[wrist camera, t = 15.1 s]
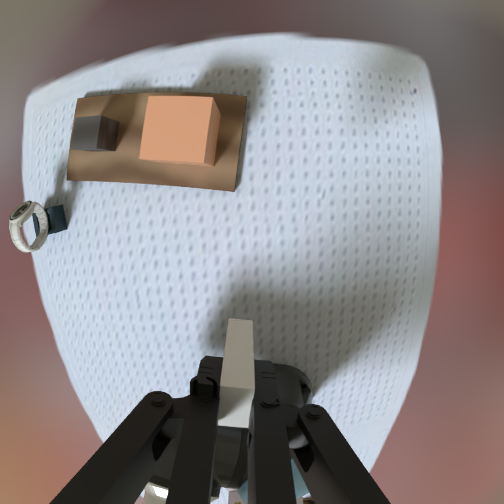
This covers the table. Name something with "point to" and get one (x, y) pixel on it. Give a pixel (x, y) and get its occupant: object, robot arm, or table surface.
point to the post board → (129, 142)
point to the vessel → (308, 501)
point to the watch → (36, 223)
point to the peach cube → (180, 130)
